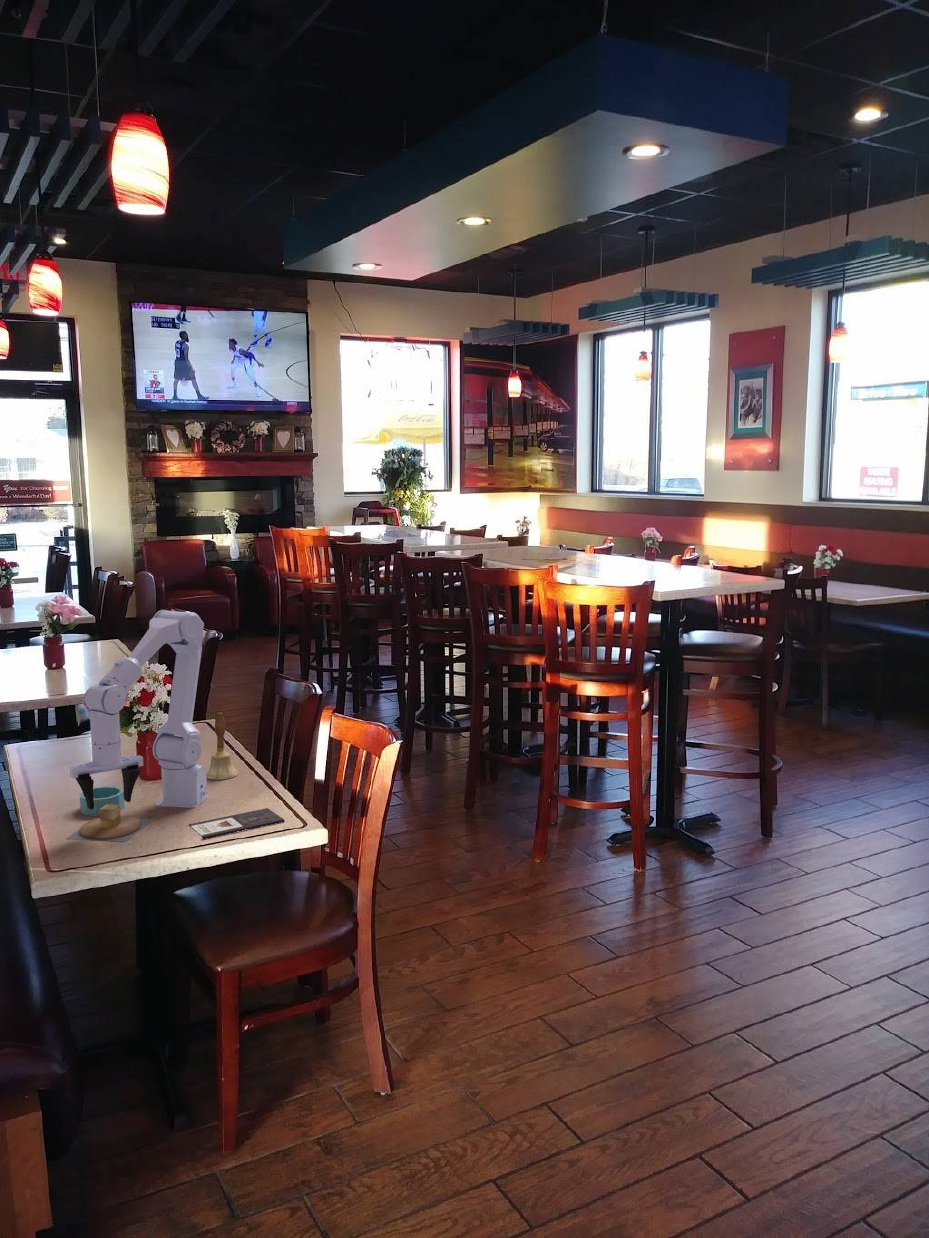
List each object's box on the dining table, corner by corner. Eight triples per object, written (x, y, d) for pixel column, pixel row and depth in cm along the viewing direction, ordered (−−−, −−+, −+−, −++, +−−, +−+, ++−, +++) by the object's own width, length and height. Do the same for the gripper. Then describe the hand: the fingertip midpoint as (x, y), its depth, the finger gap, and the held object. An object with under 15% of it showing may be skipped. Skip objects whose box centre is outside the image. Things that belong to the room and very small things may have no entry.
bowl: (131, 803, 223) (130, 787, 222) (112, 817, 214) (111, 800, 213) (93, 802, 224) (92, 785, 223) (72, 816, 215) (71, 798, 214)
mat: (153, 821, 212) (153, 819, 212) (126, 843, 199) (125, 841, 199) (96, 818, 213) (96, 816, 213) (65, 840, 201) (65, 838, 200)
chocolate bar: (284, 819, 211) (203, 837, 201) (284, 823, 212) (203, 841, 201) (267, 807, 219) (188, 824, 209) (267, 812, 219) (188, 828, 209)
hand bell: (216, 768, 250) (214, 707, 247) (244, 772, 247) (242, 710, 244) (197, 778, 242) (194, 715, 240) (225, 781, 239) (223, 718, 237)
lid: (150, 820, 211) (149, 798, 211) (124, 840, 199) (123, 818, 199) (97, 817, 213) (96, 796, 212) (69, 837, 201) (68, 815, 200)
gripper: (133, 732, 211) (136, 792, 213) (64, 743, 202) (67, 806, 204) (145, 739, 205) (148, 801, 207) (74, 750, 197) (78, 815, 198)
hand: (109, 804), depth 205 cm, fingers open, 7 cm apart
